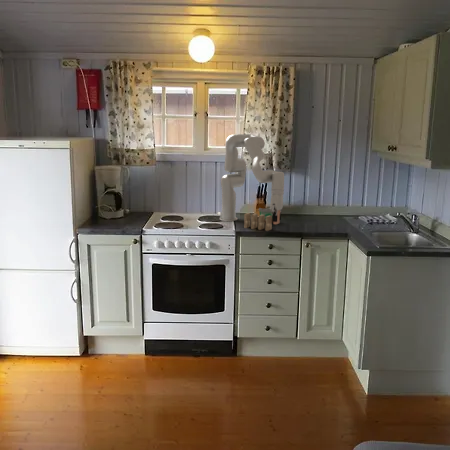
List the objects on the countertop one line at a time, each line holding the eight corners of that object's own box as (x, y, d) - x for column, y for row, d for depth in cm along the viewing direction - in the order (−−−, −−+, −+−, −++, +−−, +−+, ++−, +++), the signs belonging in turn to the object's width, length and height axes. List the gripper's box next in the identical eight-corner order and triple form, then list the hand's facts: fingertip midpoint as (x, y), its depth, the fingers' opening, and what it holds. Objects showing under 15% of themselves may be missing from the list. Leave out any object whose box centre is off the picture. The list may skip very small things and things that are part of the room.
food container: (262, 224, 314) (262, 209, 312) (258, 222, 320) (258, 207, 318) (278, 223, 319) (279, 208, 317) (274, 221, 324) (274, 206, 322)
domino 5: (273, 224, 293) (273, 209, 291) (276, 222, 297) (277, 208, 295) (276, 224, 292) (276, 210, 290) (279, 222, 296) (280, 208, 294)
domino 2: (251, 228, 301) (251, 214, 299) (254, 227, 305) (254, 213, 303) (253, 229, 300) (254, 215, 298) (257, 227, 304) (257, 213, 302)
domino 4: (265, 230, 296) (265, 216, 294) (268, 229, 301) (269, 215, 299) (268, 231, 296) (268, 217, 294) (271, 229, 300) (272, 215, 298)
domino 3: (258, 229, 299) (258, 215, 297) (261, 228, 303) (262, 214, 301) (261, 230, 298) (261, 216, 296) (264, 228, 302) (264, 214, 300)
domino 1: (244, 227, 304) (244, 214, 301) (247, 226, 308) (247, 212, 306) (246, 228, 303) (247, 214, 301) (250, 226, 307) (250, 213, 305)
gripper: (277, 189, 299) (276, 217, 303) (266, 193, 285) (265, 222, 289) (288, 190, 296) (287, 219, 300) (277, 194, 281) (276, 223, 285)
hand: (276, 220), depth 294 cm, fingers closed on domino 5, 4 cm apart
